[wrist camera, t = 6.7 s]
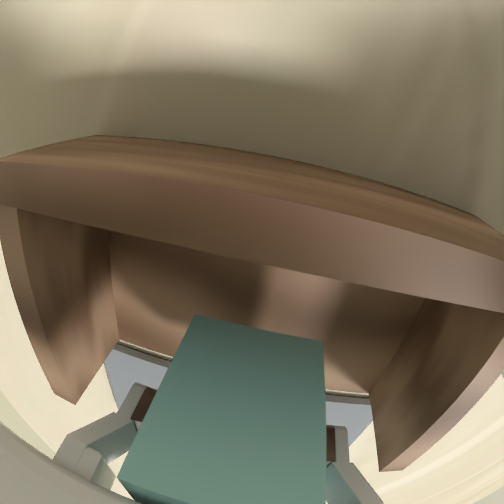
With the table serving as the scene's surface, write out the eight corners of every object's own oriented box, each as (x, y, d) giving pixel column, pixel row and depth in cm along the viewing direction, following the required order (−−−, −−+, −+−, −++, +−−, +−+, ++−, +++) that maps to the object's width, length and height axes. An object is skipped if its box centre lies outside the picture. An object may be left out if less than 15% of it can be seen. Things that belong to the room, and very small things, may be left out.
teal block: (194, 314, 11) (116, 477, 5) (322, 341, 11) (324, 520, 4) (191, 389, 13) (145, 512, 7) (290, 410, 13) (276, 540, 7)
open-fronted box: (95, 135, 12) (-9, 161, 6) (474, 215, 11) (556, 281, 5) (106, 325, 17) (54, 393, 12) (386, 385, 16) (402, 470, 11)
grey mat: (103, 338, 18) (99, 343, 18) (383, 399, 17) (384, 405, 16) (121, 405, 22) (118, 410, 22) (336, 453, 21) (336, 458, 20)
